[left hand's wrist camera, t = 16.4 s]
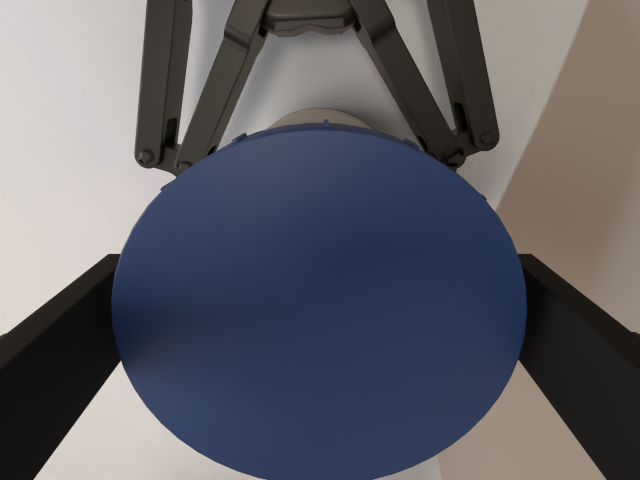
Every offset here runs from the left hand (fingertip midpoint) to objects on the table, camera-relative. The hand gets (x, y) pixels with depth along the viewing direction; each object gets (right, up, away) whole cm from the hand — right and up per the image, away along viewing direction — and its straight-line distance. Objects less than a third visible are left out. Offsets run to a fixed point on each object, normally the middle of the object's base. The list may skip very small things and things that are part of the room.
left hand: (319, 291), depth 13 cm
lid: (0, -1, -2) cm, 2 cm away
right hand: (0, -1, +10) cm, 10 cm away
